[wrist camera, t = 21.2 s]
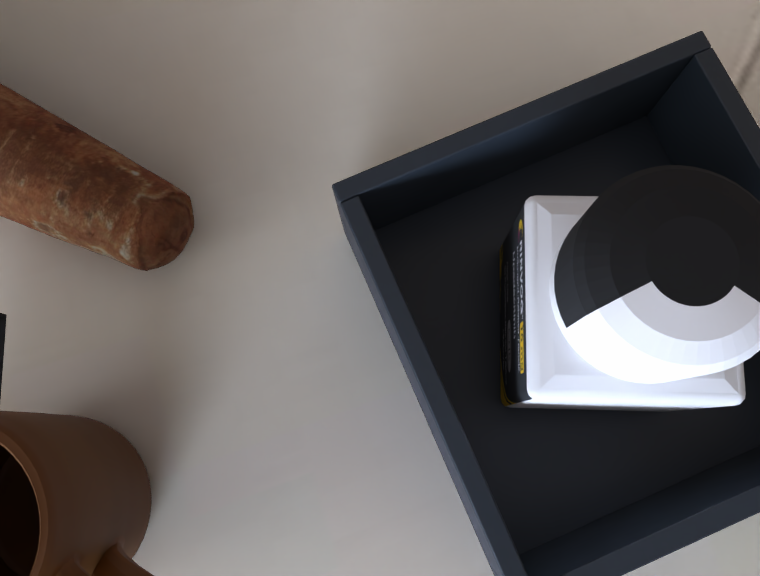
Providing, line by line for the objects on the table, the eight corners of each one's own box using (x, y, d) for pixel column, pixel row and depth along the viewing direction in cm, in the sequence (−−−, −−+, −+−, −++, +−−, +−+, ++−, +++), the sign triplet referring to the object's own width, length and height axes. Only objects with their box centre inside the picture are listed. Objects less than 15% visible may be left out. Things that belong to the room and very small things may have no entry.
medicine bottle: (498, 245, 32) (555, 134, 20) (660, 248, 31) (815, 137, 20) (499, 407, 30) (561, 391, 19) (669, 411, 30) (842, 398, 18)
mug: (278, 518, 30) (225, 556, 21) (185, 688, 29) (86, 807, 20) (47, 384, 32) (-97, 364, 23) (-51, 541, 31) (-245, 588, 21)
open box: (343, 230, 33) (330, 183, 27) (647, 103, 34) (702, 29, 28) (497, 582, 30) (522, 621, 23) (828, 431, 30) (937, 431, 24)
